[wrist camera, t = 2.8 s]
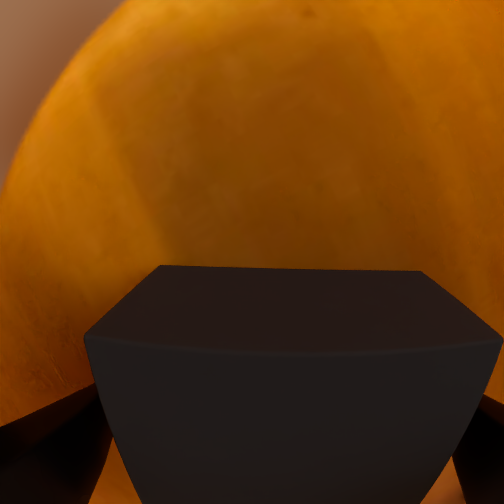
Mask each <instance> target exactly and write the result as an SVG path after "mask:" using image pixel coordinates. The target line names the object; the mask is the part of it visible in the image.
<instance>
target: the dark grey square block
mask: <svg viewBox="0 0 504 504" xmlns="http://www.w3.org/2000/svg"><path fill="white" fill-rule="evenodd" d="M84 343H85V347H86V351H87V355H88V359H89V363H90V366H91V370H92V374H93V377H94V381H95V384H96V388H97V391H98V394H99V397H100V400H101V404H102V407H103V410H104V413H105V416H106V418H107V421H108V424H109V427H110V430H111V432H112V435H113V438H114V440H115V443H116V446H117V448H118V451H119V453H120V456H121V458H122V460H123V463H124V465H125V468H126V470H127V472H128V474H129V477H130V479H131V481H132V483H133V485H134V488H135V490H136V492H137V494H138V496H139V498H140V500H141V502H142V504H420V503H421V501H422V500H423V499H424V497H425V496H426V494H427V493H428V492H429V490H430V489H431V487H432V486H433V484H434V483H435V481H436V480H437V478H438V477H439V475H440V474H441V472H442V470H443V469H444V467H445V466H446V464H447V462H448V461H449V459H450V457H451V456H452V454H453V452H454V451H455V449H456V447H457V445H458V444H459V442H460V440H461V438H462V436H463V435H464V433H465V431H466V429H467V427H468V425H469V423H470V421H471V419H472V417H473V415H474V413H475V411H476V409H477V407H478V405H479V402H480V400H481V398H482V396H483V393H484V391H485V389H486V386H487V384H488V382H489V379H490V377H491V374H492V372H493V369H494V367H495V364H496V361H497V359H498V356H499V353H500V350H501V347H502V344H503V337H502V336H501V335H499V334H498V333H497V332H496V331H495V330H494V329H492V328H491V327H490V326H489V325H488V324H487V323H485V322H484V321H483V320H482V319H481V318H479V317H478V316H477V315H476V314H475V313H473V312H472V311H471V310H470V309H469V308H467V307H466V306H465V305H464V304H462V303H461V302H460V301H459V300H457V299H456V298H455V297H454V296H452V295H451V294H450V293H449V292H447V291H446V290H445V289H444V288H442V287H441V286H440V285H438V284H437V283H436V282H435V281H433V280H432V279H431V278H429V277H428V276H427V275H425V274H424V273H423V272H421V271H372V270H312V269H269V268H232V267H200V266H171V265H160V266H158V267H157V268H156V269H155V270H154V271H153V272H151V273H150V274H149V275H148V276H147V277H146V278H145V279H144V280H142V281H141V282H140V283H139V284H138V285H137V286H136V287H135V288H134V289H132V290H131V291H130V292H129V293H128V294H127V295H126V296H125V297H124V298H123V299H121V300H120V301H119V302H118V303H117V304H116V305H115V306H114V307H113V308H112V309H111V310H109V311H108V312H107V313H106V314H105V315H104V316H103V317H102V318H101V319H100V320H99V321H98V322H97V323H96V324H95V325H93V326H92V327H91V328H90V329H89V330H88V331H87V332H86V333H85V334H84Z"/></svg>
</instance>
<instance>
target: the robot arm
mask: <svg viewBox="0 0 504 504" xmlns="http://www.w3.org/2000/svg"><path fill="white" fill-rule="evenodd" d="M112 439H113V435H112V432H111V430H110V427H109V424H108V421H107V418H106V416H105V413H104V410H103V407H102V404H101V400H100V397H99V394H98V391H97V388H96V384H95V383H93V384H91V385H89V386H87V387H85V388H83V389H81V390H79V391H77V392H75V393H73V394H71V395H69V396H67V397H65V398H63V399H61V400H58V401H56V402H54V403H52V404H50V405H48V406H46V407H44V408H41V409H39V410H37V411H35V412H33V413H31V414H28V415H26V416H24V417H22V418H20V419H17V420H15V421H13V422H11V423H8V424H6V425H4V426H2V427H0V504H88V503H89V500H90V498H91V496H92V493H93V491H94V488H95V486H96V484H97V481H98V479H99V477H100V474H101V472H102V470H103V467H104V465H105V462H106V459H107V455H108V452H109V449H110V445H111V442H112ZM452 458H453V462H454V466H455V470H456V473H457V476H458V479H459V482H460V485H461V488H462V491H463V495H464V498H465V501H466V504H504V404H502V403H500V402H498V401H496V400H494V399H492V398H490V397H488V396H486V395H484V394H483V396H482V398H481V400H480V402H479V405H478V407H477V409H476V411H475V413H474V415H473V417H472V419H471V421H470V423H469V425H468V427H467V429H466V431H465V433H464V435H463V436H462V438H461V440H460V442H459V444H458V445H457V447H456V449H455V451H454V452H453V454H452Z"/></svg>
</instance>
